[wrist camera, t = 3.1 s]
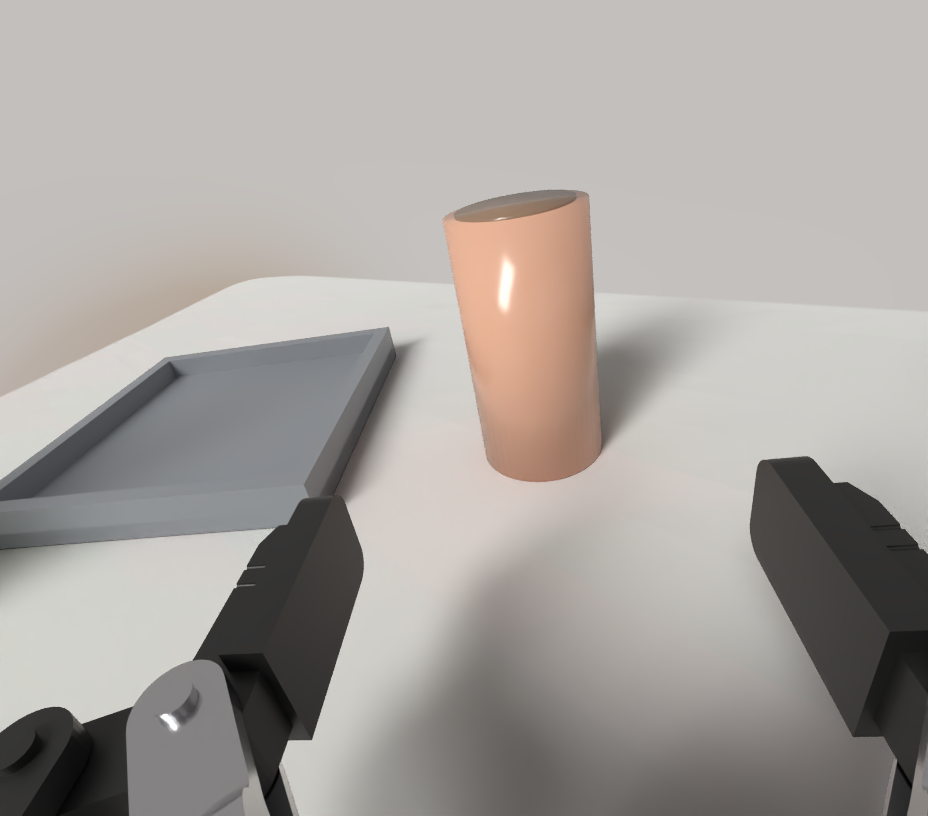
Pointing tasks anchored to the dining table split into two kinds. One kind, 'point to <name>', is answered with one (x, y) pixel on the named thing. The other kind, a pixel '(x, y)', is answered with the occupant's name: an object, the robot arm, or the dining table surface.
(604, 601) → the dining table surface
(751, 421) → the dining table surface
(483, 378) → the cup
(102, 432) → the tray
